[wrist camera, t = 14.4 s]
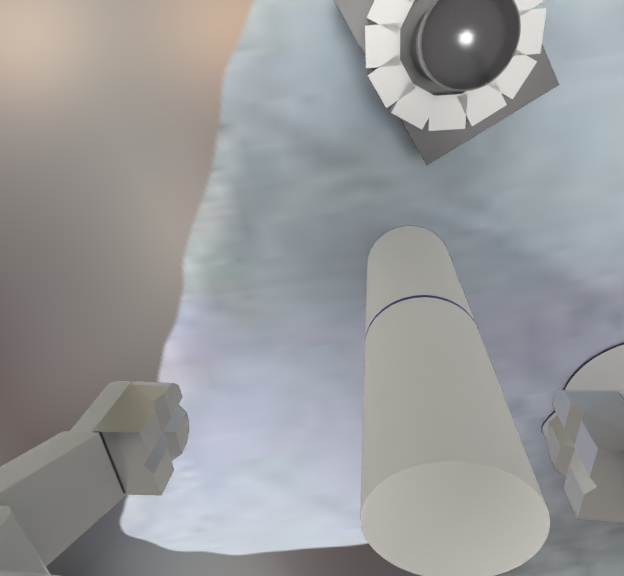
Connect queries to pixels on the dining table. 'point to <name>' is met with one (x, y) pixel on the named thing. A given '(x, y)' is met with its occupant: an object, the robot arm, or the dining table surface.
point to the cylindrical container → (438, 425)
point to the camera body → (430, 96)
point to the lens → (465, 42)
